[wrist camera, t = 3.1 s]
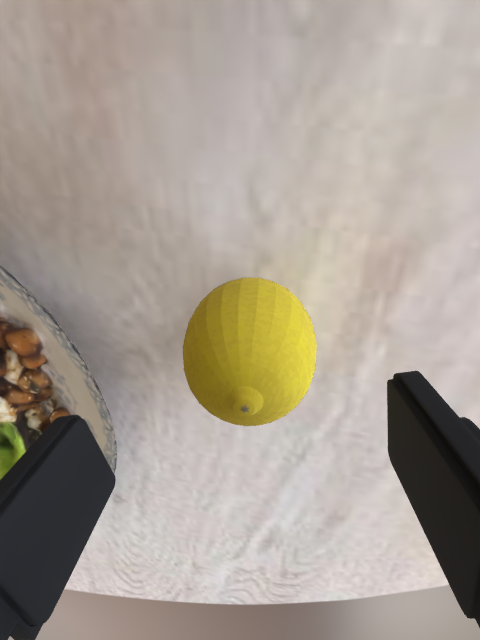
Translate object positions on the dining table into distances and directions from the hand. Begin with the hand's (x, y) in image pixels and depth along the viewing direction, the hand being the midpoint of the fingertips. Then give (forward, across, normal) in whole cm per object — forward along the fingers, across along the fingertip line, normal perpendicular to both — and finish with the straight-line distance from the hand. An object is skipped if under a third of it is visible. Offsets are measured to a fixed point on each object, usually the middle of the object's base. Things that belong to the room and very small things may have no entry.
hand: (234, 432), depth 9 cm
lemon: (+8, 0, -1) cm, 9 cm away
